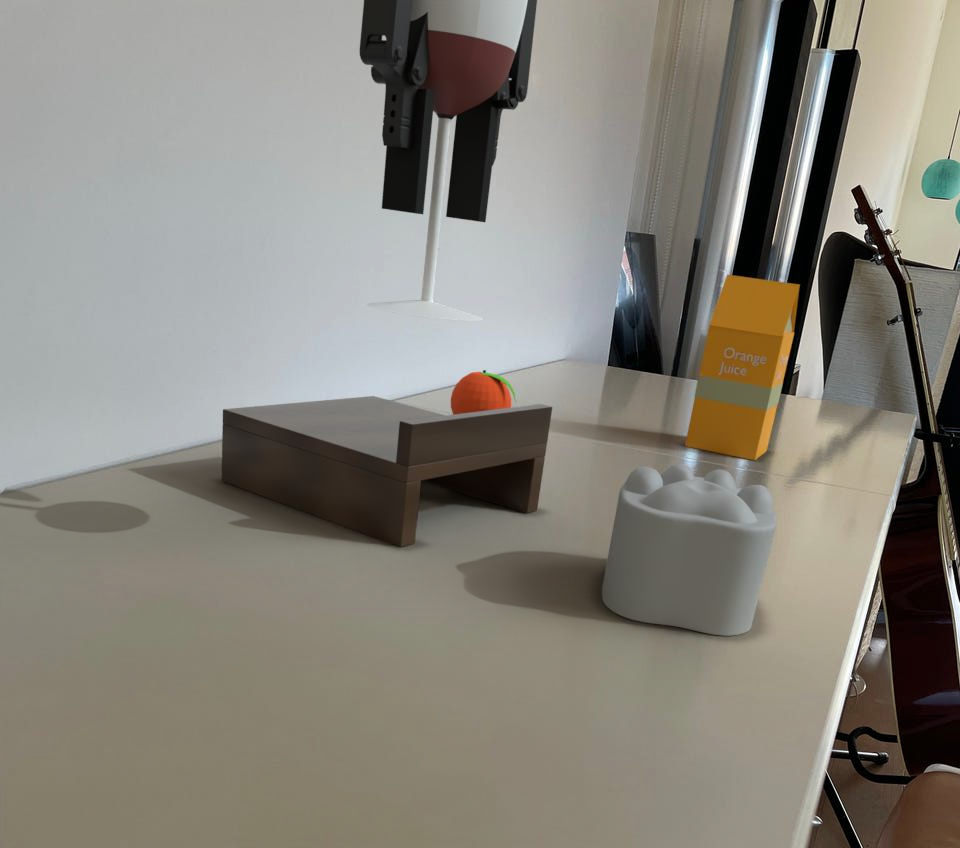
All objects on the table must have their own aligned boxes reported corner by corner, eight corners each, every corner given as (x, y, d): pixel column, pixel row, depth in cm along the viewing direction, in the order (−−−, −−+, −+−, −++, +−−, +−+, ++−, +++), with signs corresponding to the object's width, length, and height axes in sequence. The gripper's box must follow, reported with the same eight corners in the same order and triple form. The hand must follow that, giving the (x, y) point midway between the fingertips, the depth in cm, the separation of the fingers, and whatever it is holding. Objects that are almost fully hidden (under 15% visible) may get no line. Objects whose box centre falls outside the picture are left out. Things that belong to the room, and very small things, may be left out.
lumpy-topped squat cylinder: (596, 613, 64) (620, 484, 61) (608, 555, 76) (628, 445, 73) (757, 642, 63) (790, 511, 60) (744, 579, 75) (771, 467, 72)
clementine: (526, 438, 114) (534, 375, 111) (495, 445, 109) (503, 379, 106) (468, 424, 118) (475, 363, 115) (435, 430, 112) (442, 366, 109)
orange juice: (699, 437, 128) (733, 274, 120) (767, 451, 125) (806, 284, 117) (683, 446, 121) (718, 274, 114) (755, 460, 118) (795, 284, 110)
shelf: (221, 481, 82) (223, 371, 79) (368, 457, 96) (375, 363, 93) (400, 547, 72) (412, 424, 69) (537, 510, 86) (552, 406, 82)
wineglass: (335, 299, 64) (358, -71, 56) (438, 305, 69) (473, -31, 61) (410, 319, 58) (448, -87, 51) (516, 323, 64) (564, -41, 56)
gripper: (421, -361, 43) (377, 209, 53) (628, -195, 57) (565, 233, 67) (304, -330, 47) (281, 195, 57) (524, -182, 61) (478, 220, 71)
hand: (435, 214), depth 62 cm, fingers closed on wineglass, 5 cm apart
